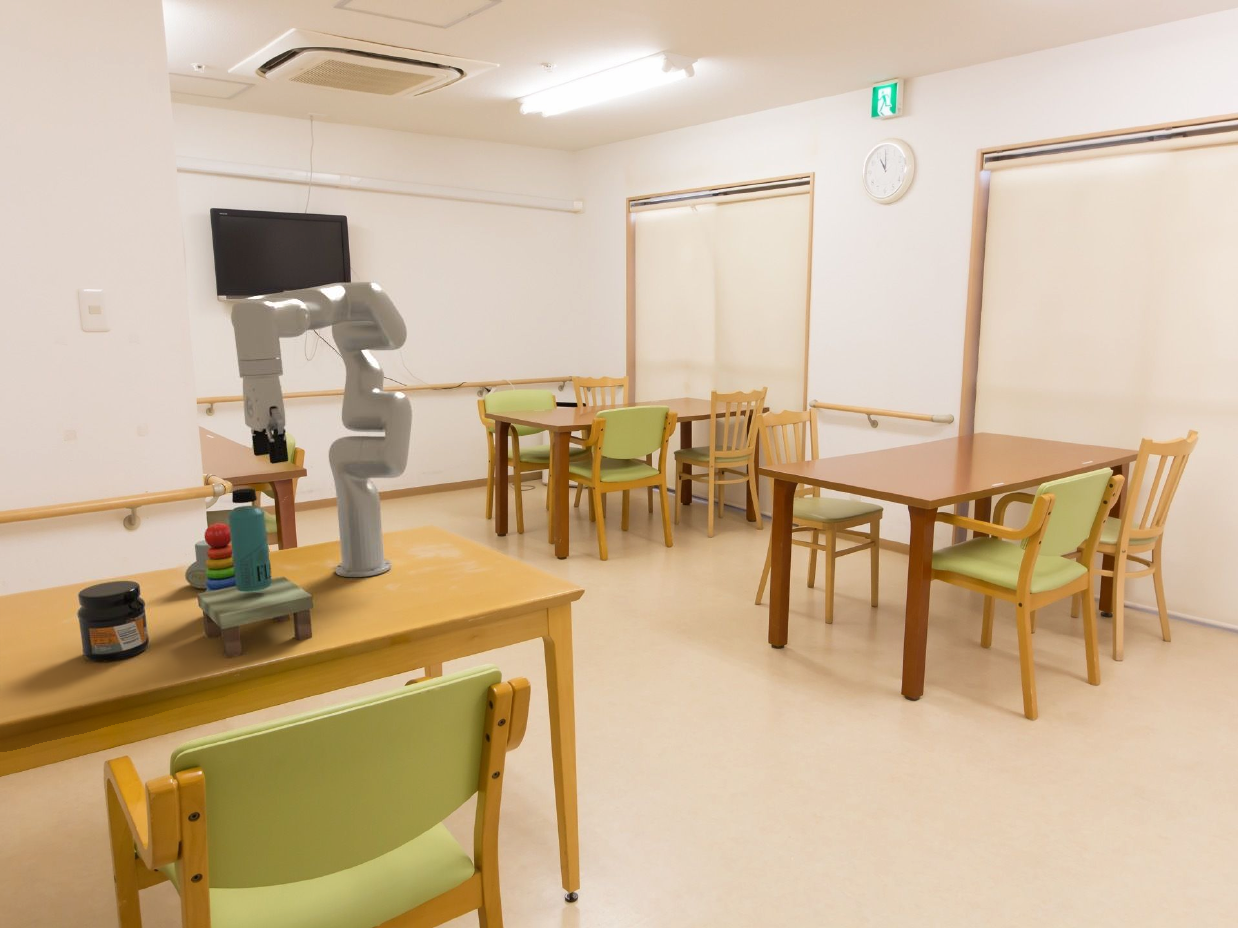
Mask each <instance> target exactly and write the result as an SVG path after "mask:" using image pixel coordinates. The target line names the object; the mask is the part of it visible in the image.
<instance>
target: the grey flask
mask: <svg viewBox="0 0 1238 928" xmlns="http://www.w3.org/2000/svg"><path fill="white" fill-rule="evenodd" d="M209 548H211V546H209V545H208V544H207V542H206V541H205V539H204V540H199V541H198V542H196V543H195V544H194V549H195V550H194V551H195V562H194V561H193V562H192V563H191V564H190V565H189V566H188V567H187V569H186V570H185V572H184V573H185V574H184V576H185V580H186V582H187V583H188V584H190V585H191V586H192V587H195V588H199V589H201V590H204V589H207V588H208V586H207V585H206V580H207V579H208V578H209V577H207V575H206V570H207V569H208V567H207V566H206V561H207V560H208V559H209V557H208V556H207V550H208V549H209Z"/></svg>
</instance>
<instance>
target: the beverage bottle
mask: <svg viewBox="0 0 1238 928" xmlns="http://www.w3.org/2000/svg"><path fill="white" fill-rule="evenodd" d="M256 494H257V493H256V490H255V488H241V489H236V490H233V491H232V494H231V495H232V496H231V497H232V500H231V501H232V503H233V504H245V503H246V504H247V503H252V502H255V501H257V500H258V499H257V495H256ZM227 518H228V526H229V527H230V536H231V542H230V543H231V545H230V546H232V550H231V552H232V555H231V556H232V557H233V560H232V561H233V563H232V565H233V566H234V568H233V569H234V574H235V575H234V576H235V577H234V578H235V584H236V588H237V590H239V591H244V592H249V591H257V590H262V589H265V588H268V587H269V586H270V585H271V582H272V581H271V579H272V577H273V576H272V571H271V569H272V567H271V561H270V552H269V545H268V541H269V540H268V539H269V538H268V535H267V534H268V531H267V526H266V519H265V511H264V510H263V509H262V508H261V507H260V506H257V505H241V506H238V507H234V508H233V509H231V511H230V512H229V513H228V514H227Z"/></svg>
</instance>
